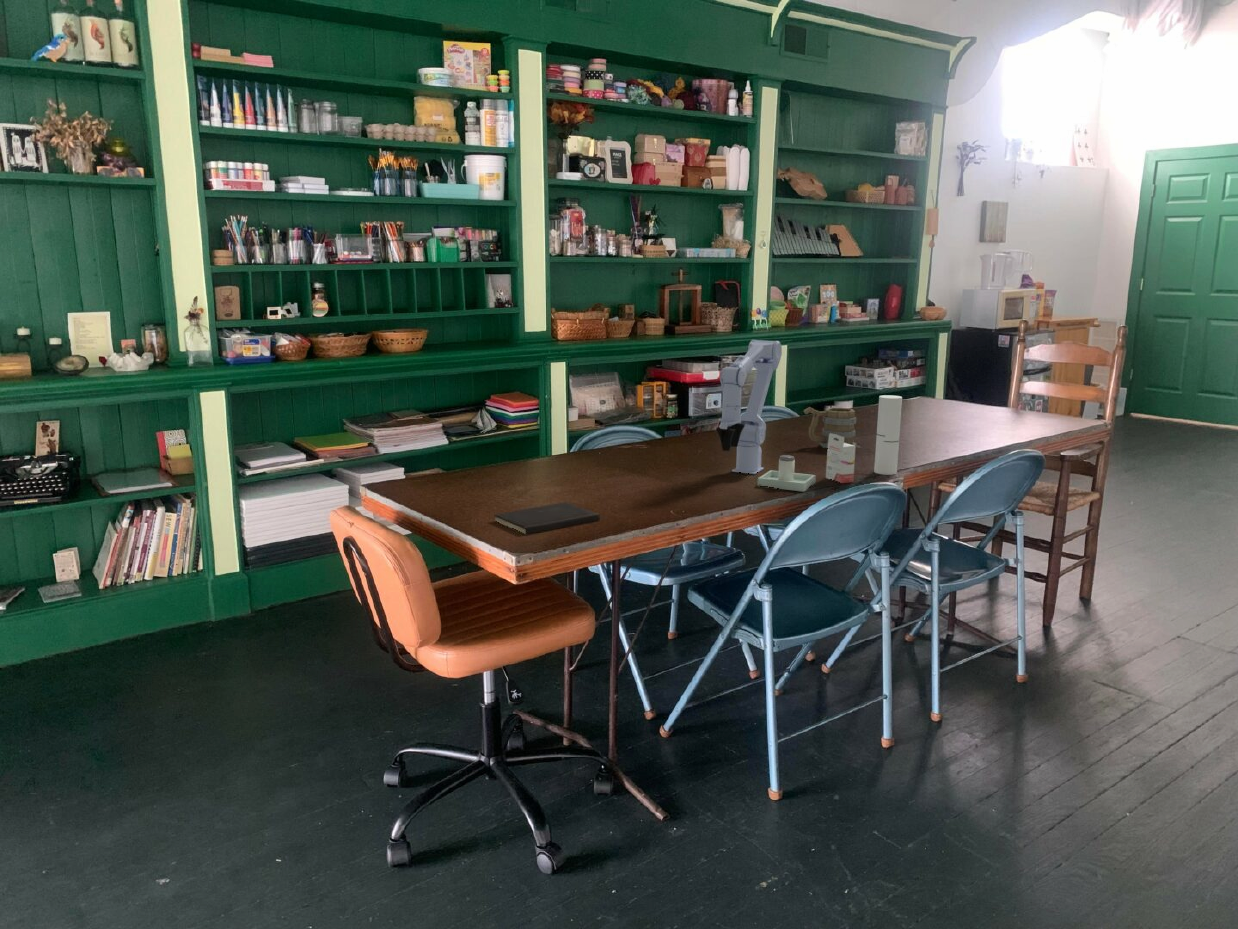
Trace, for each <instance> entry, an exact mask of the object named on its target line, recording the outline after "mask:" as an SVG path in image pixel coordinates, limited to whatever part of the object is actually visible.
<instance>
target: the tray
mask: <svg viewBox="0 0 1238 929" xmlns="http://www.w3.org/2000/svg"><path fill="white" fill-rule="evenodd" d="M816 479H817V476H816V474H807V473H799V472H798V473H797V472H794V482H792V481H783V480H778V470H768V471H767V472H766V473H764V474H763V475H761V476H759V477H758V478H757V486H758V485H761V486H768V487H767V488H769V487H774V488H773V489H777V488H779V489H778V490H787V491H796V492H802V493H803V492H805V491H807V490H808V489H810V488H811V487H812V486H813V485H814V484H816ZM811 485H812V486H811ZM810 486H811V487H810ZM809 487H810V488H809Z"/></svg>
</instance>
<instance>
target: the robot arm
mask: <svg viewBox="0 0 1238 929" xmlns="http://www.w3.org/2000/svg"><path fill="white" fill-rule="evenodd" d="M782 347H783V346H782V343H781V342H780V341H779V340H761V339H759V340H758V339H757V340H756V339H751V341H750V342H749V343H748V349H747V352H746V353H745V355H739V356H738V358H736V360H734V361H733V363H731V364H730V365H729V366H725V367H723V368H722V369H721V371H720V376H719V382H720V384H721V387H720V389H721V391H722V405H721V407H722V409H721V411H722V412H721V414H722V415H721V417H719V418H718V420H717V421H718V422H720V425H719V426H717V428H716V432H717V434H718V437H719V439H720V444H721V450H722V451H724V452H725V451H726V452H730V450H731V447H732V448H736V461H735V462H736V467H735V468H733V469H732V470H731V472H733V473H739V472H741V474H748V473H749V474H751V475H756V474H758V473H759V472H761V471H763V470H764V467H762V453H763V452H762V448H761V445H762V444H763V443H764V442H765V439H766V432H767V431H766V430H767V424H766V422H765V421H764V419H763V418H762V417H761V416H762V412H763V409H764V405H765V402H766V397H767V394H768V391H769V387H770V383H771V380H772V377H773V372H774V371H775V370H778V368H779V365H780V362H781V358H782V353H783V351H782V350H783V349H782ZM753 368H754V369H755V370H756V374H755V379H754V382H753V385H752V389H751V392H750V396H749V400H748V403H747V407H746V410H745V413H744V414H742V412H741V411H742V410H741V409H742V387H743V386H744V385H745V382H746V379H747V375H748V374H749V373H750V372H751V371H752V370H753ZM741 414H742V415H741ZM757 472H758V473H757Z"/></svg>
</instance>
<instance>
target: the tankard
mask: <svg viewBox="0 0 1238 929" xmlns="http://www.w3.org/2000/svg"><path fill="white" fill-rule="evenodd" d="M803 413H804V414H805V415H808V414H811V415H812V417H811V418H812V419H811V423H810V425H809V427H808V437H809V438H810V440H811V442H815V443H819V446H820V447H821V448H822V449H826V448H828V440H829V434H830V433H832V434H835V435H839V436H842V437H844V443H847V444H850V445H854V446H855V449H857V446H858V444H857V442H855V441H854V438H855V437H856V432H857V431H856V429H855V425H856V424H857V417H856V410H854V409H852V408H846V407H829V408H825V409H824V411H819V410H816V409H814V408H813V407H811V406H809V407H807V408H805V409H803ZM819 417H822V422H823V423H824V424H823V426H824V427H823V428H821V435H823V436H817V435H816V433H815V432H816V428H817V426H818V423H819ZM834 440H836V441H839V439H837V438H834Z"/></svg>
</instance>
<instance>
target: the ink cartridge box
mask: <svg viewBox="0 0 1238 929" xmlns="http://www.w3.org/2000/svg"><path fill="white" fill-rule="evenodd" d="M834 438H837V439H839V441H836V440H834ZM855 459H856V448H855V446H854V445H850V444H847V443H844V437H842V436H839V435H835V434H832V433H830V434H829V440H828V449H827V452H826V468H825V478H826V479H828V480H830V479H832V480H831V481H833V480H835V481H834V482H836V481H838V482H837V483H839V482H840V483H839V484H848V483H854V479H855V461H856V460H855Z"/></svg>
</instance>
